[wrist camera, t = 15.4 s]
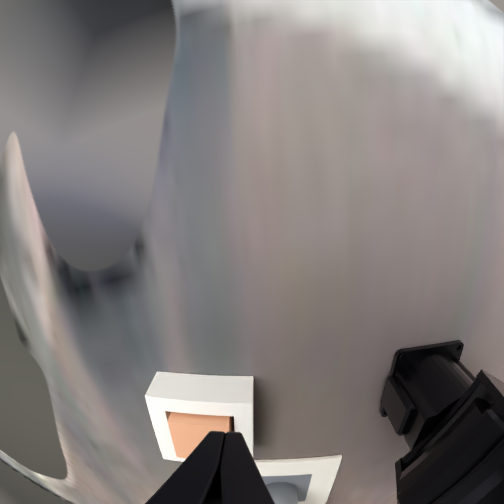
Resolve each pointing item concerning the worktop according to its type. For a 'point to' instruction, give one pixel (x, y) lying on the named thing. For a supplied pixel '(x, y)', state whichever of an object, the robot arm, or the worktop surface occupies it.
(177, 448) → the button cap
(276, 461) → the paper sheet
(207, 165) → the worktop surface
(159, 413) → the button housing
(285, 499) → the grey rounded cylinder
